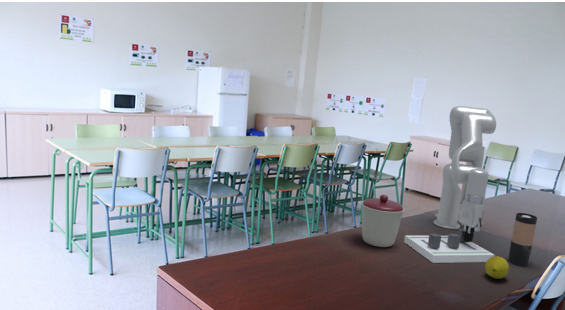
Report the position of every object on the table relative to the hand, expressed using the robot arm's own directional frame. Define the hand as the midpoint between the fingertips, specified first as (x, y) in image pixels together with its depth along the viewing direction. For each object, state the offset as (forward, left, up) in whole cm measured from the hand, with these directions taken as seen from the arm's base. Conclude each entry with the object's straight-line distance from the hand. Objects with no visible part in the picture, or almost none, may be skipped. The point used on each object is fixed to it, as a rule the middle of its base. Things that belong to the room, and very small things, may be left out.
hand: (467, 241), depth 190 cm
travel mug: (+11, +16, -5) cm, 20 cm away
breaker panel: (-1, -9, -5) cm, 10 cm away
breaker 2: (+2, -9, -1) cm, 9 cm away
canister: (-11, -36, -5) cm, 38 cm away
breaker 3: (-4, 0, -1) cm, 4 cm away
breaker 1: (+2, -18, -1) cm, 18 cm away
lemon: (+24, -6, -5) cm, 26 cm away
